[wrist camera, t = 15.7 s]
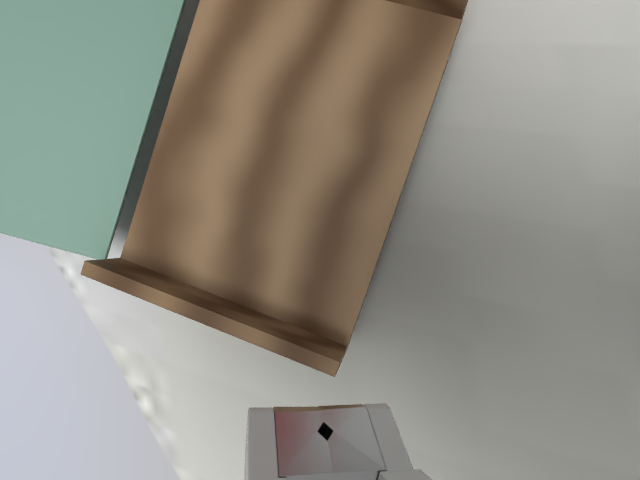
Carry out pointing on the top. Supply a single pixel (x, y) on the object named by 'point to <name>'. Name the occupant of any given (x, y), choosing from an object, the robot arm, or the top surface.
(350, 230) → the cart
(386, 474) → the robot arm
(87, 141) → the panel
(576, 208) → the top surface
